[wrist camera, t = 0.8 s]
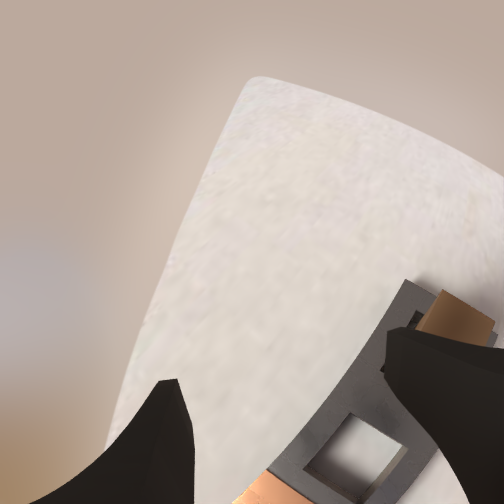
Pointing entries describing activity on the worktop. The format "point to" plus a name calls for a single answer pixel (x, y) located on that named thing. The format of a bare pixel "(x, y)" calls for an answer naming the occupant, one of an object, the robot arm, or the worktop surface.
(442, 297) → the peg
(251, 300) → the worktop surface
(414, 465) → the rail
